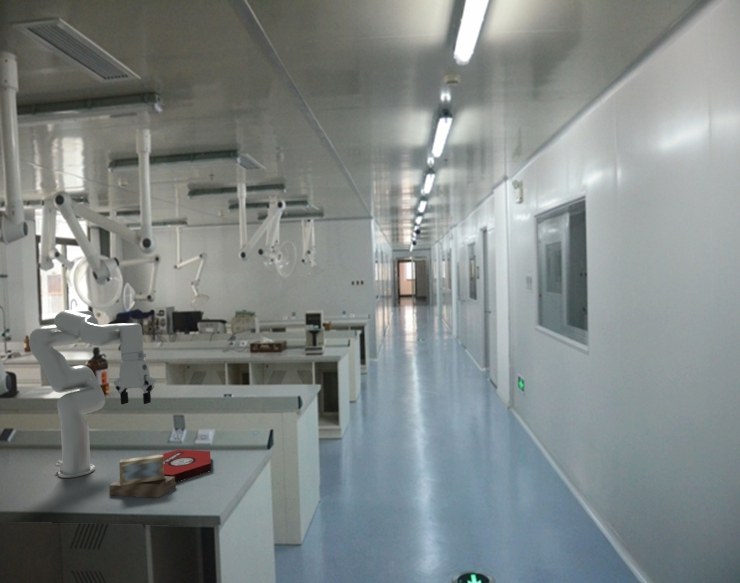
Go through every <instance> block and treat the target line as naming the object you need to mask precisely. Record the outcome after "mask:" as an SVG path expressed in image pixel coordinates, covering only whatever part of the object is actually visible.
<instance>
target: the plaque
mask: <svg viewBox="0 0 740 583" xmlns="http://www.w3.org/2000/svg"><path fill="white" fill-rule="evenodd" d="M159 455H163V460H164V476H170V477H175V482H176V483H179V482H181V480H182V481H185V480H188V479H191V478H193V477H197V475H198V476H201V475H204V474H206V472H207V473H209V472H208V471H210V472H211V471H212V463H211V462H212V461H211V451H210V450H197V449H196V450H193V449H192V450H191V449H175V450H172V451H168V452H164V453H161V454H159ZM203 473H204V474H203ZM200 474H201V475H200ZM184 479H185V480H184ZM178 481H179V482H178Z"/></svg>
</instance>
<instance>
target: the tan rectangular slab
mask: <svg viewBox="0 0 740 583" xmlns="http://www.w3.org/2000/svg"><path fill="white" fill-rule="evenodd" d="M119 479H120V485H127V484H134V483H141V482H148V481H156V480H163V479H164V460H163V455H160V454H155V455H148V456H141V457H132V458H131V457H130V458H123V459H120V460H119Z"/></svg>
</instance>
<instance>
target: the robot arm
mask: <svg viewBox="0 0 740 583" xmlns="http://www.w3.org/2000/svg"><path fill="white" fill-rule="evenodd" d="M143 339H144V337H143V326H142V325H141V324H140V323H138V322H133V323H123V322H121V323H119V322H118V323H110V324H101V325H99V321H98V319H97V317H96V316H95V314H94V313H93V311H91V310H90V309H86V308H85V309H84V308H80V309H79V308H78V309H65V310H63V311H60V312H58V313H57V314H56V315H55V316H54V319H53V325H52V324H51V325H45V326H39V327H37V328H35V329H33V330H32V332H31V333H30V335H29V339H28V345H29V346H28V347H29V348H30V351H31V353H32V355H33V357H34V358H35V359H36V360H37V362H38V363H39V365H40V366H41V368H42V370H43V372H44V375H45V377H46V378H47V380H48V383H49V384H50V387H51V388H52V390H53V391H54V392H55V393H59V394H60V393H62V394H63V393H65V394H63V395H62V396H60V397H59V398H58V401H56V409H57V413H58V417H59V423H60V438H61V442H60V443H61V460H60V459H59V460H57V461H56V463H55V464H54V467H55V468H59V470H58V472H57V475H58V477H59V478H63V479H69V478H70V479H71V478H77V477H82V476H85V475H89V474H91V473H92V472H93V471H95V469H96V466H95V465H94V464H92V463H91V451H90V449H91V448H90V446H91V444H90V428H89V426H90V425H89V423H88V421H87V419H86V418H85V417H84V415H86V414H89V413H93V412H97V411H99V410H101V409H102V408H103V407H104V406H105V403H106V396H105V393H104V391H103V389H102V387H101V384H100V382H99V380H98V378H97V377H96V375H95V373H94V372H93V370H92V368H90V367H89V366H86V365H84V364H83V365H82V364H81V365H80V364H79V365H75V366H74V365H73V366H71V365H70V364H69V362H68V361H67V359H66V357H65V356H64V355H63V354H62V353H61V352H60V351H58V350H57V349H55V348H54V347H60V346H67V345H72V344H75V343H77V342H78V341H80V340H82V341H83V342H84V343H86V344H90V345H93V346H97V347H98V346H99V347H100V346H101V347H103V346H104V347H105V346H112V345H118V344H120V355H121V356H120V358H121V359H120V360H121V361H120V364H119V372H118V373H119V377H118V378H117V379H115V380H114V381H113V384H114V386H115V389H116V390H117V392H118V394H120V395H119V396H120V404H121V405H126V404H128V403H129V392H128V389H141V390H142V392H143V393H142V397H143V400H142V401H143V404H144V405H147V404H149V403H151V402H152V398H151V397H152V396H151V392H152V391H153V389H154V387H155V384H156V382H157V380H156V379H155V378H152V377H151V376H150V375H151V374H150V368H149V365H148V362H147V360H146V359H145V357H147V356H146V355H147V354H146V353H145V352H144V341H143Z"/></svg>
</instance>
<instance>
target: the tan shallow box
mask: <svg viewBox="0 0 740 583" xmlns="http://www.w3.org/2000/svg"><path fill="white" fill-rule="evenodd" d="M173 487H174V488H175V487H176V483H175V477H170V476H164V479H163V480H156V481H148V482H141V483H134V484H127V485H120V478H118V479H117V480H115V481H114V482H112V483H111V484H109V485H108V488H109V490H108V491H109V492H108V493H109V496H117V495H122V496H121V497H134V496H142V497H141V498H150V497H153V499H154V497H155V499H156V498H157V499H160V498H161V497H163V496H164V495H166V494H167V493H168V492H170V491H171V490H172V489H174V488H173ZM170 489H171V490H170ZM166 492H167V493H166ZM163 494H164V495H163ZM159 497H160V498H159Z"/></svg>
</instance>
